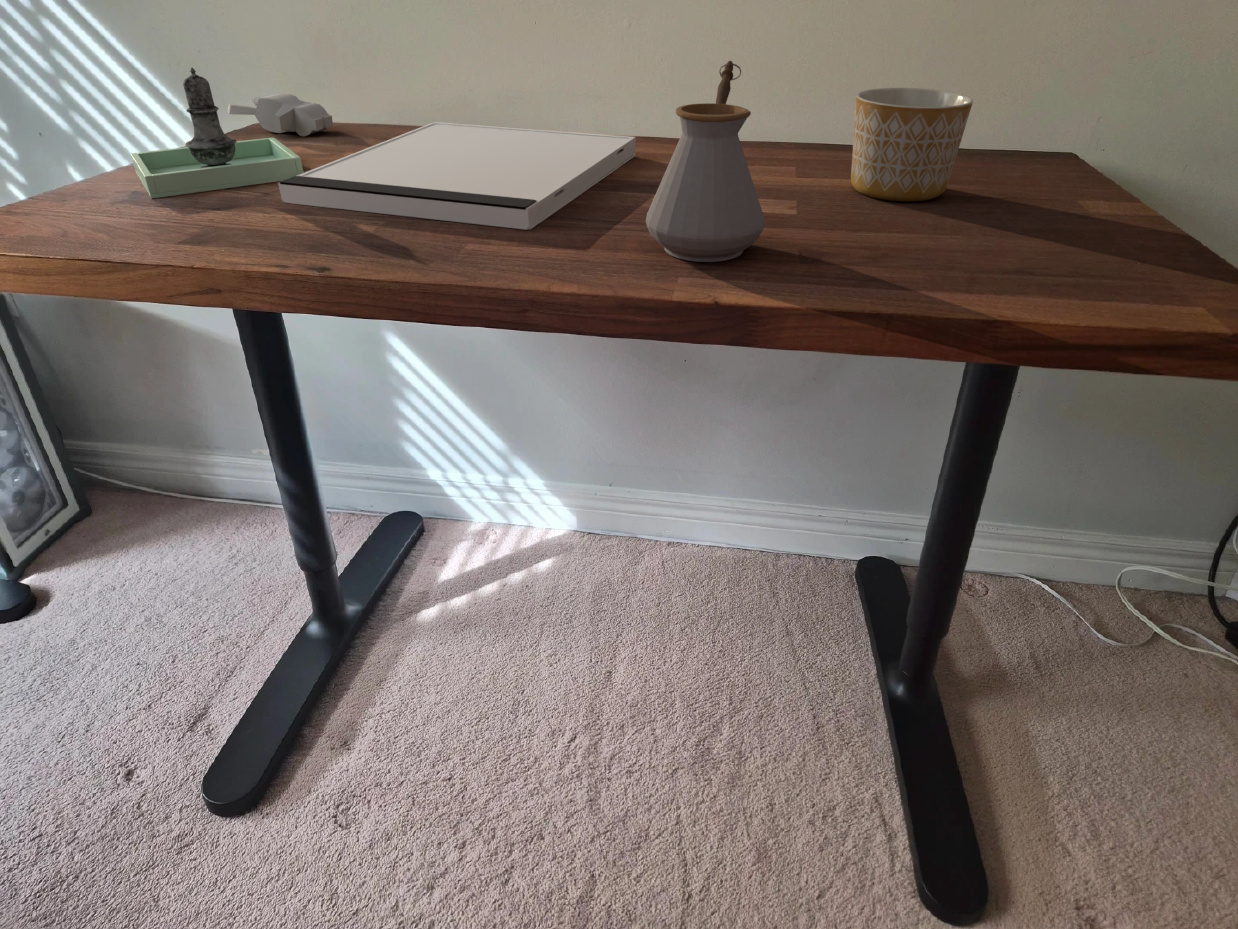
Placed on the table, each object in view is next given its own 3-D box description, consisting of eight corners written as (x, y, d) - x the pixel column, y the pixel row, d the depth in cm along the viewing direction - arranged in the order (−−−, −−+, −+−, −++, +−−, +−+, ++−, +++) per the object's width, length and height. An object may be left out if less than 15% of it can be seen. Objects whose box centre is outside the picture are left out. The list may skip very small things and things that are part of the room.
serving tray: (151, 198, 96) (144, 176, 95) (136, 173, 106) (130, 153, 105) (304, 177, 104) (300, 157, 103) (278, 156, 114) (273, 137, 113)
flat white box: (527, 206, 85) (277, 180, 94) (529, 230, 87) (282, 202, 95) (635, 136, 113) (434, 121, 121) (635, 155, 114) (436, 139, 123)
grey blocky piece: (301, 111, 120) (217, 92, 123) (305, 148, 122) (223, 128, 126) (342, 100, 127) (262, 82, 131) (345, 135, 130) (266, 116, 133)
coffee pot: (757, 273, 76) (774, 96, 68) (634, 264, 78) (636, 91, 70) (772, 208, 93) (787, 61, 85) (671, 202, 95) (676, 57, 87)
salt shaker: (253, 169, 106) (228, 66, 99) (211, 179, 102) (183, 72, 95) (225, 163, 108) (199, 62, 102) (183, 173, 104) (154, 68, 98)
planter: (964, 186, 101) (985, 93, 95) (935, 212, 92) (955, 111, 86) (863, 172, 107) (877, 84, 101) (826, 194, 98) (839, 99, 92)
